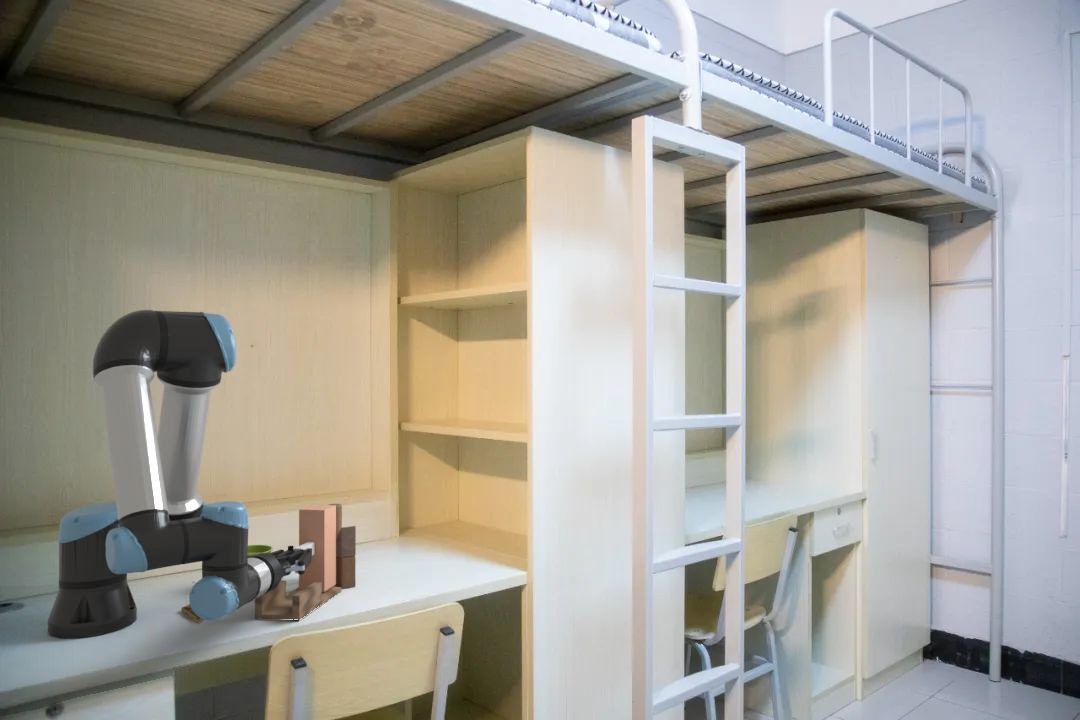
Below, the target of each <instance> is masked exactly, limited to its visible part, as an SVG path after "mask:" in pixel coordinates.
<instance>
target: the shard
mask: <svg viewBox="0 0 1080 720" xmlns="http://www.w3.org/2000/svg"><path fill="white" fill-rule="evenodd" d="M181 611H182V613H184V614H187V615H188V616H189V617H190V618H191V619H192V620H193V621H195V622H197V623H200V624H201V623H202V622H203V621H205V620H204V619H202V618H200V617H198V616H197V615H196V614H195V613H194V612H193V610H192V608H191V606H190V603H189V604H187V605H185V606H182V607H181Z"/></svg>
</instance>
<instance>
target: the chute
mask: <svg viewBox="0 0 1080 720" xmlns="http://www.w3.org/2000/svg"><path fill="white" fill-rule="evenodd" d="M341 592H342V589H341V587H337V586H333V587H331V588H330V589H328V590H327V591H325V592H322V582H314V583H312V584H311V585H309V586H307V587H306V588H304V589H303V590H301V591H299V586H298V587H297V588H295V589H294V590H292V591H290V592H289V593H287V580H286V579H285V580H284V579H283V580H282V579H281V581H280V583H279V584H278V585H277V587H275V588H274V589H273V590H271V591H269V592H267V593H266V594H264V595H261V596H260V597H258V598H256V599H254V619H255V620H269V619H293V620H294V619H298V620H300V619H301V618H303V617H304V616H306V615H307V614H309V613H310V612H311V611H313V610H314V609H315V608H317V607H318V606H320V605H322V604H323V603H325V602H326V601H327V602H329V601H330V600H331V598H332V597H333V598H335V597H334V596H335V595H336V596H338V595H339V594H340V593H341ZM338 593H339V594H338ZM333 598H332V599H333ZM329 599H330V600H329ZM328 600H329V601H328ZM327 602H326V603H327ZM326 603H325V604H326ZM323 605H324V604H323ZM323 605H322V606H323ZM320 607H321V606H320ZM317 609H318V608H317ZM313 612H314V611H313ZM310 614H311V613H310ZM310 614H309V615H310ZM307 616H308V615H307ZM307 616H306V617H307ZM303 619H304V618H303ZM300 621H301V620H300Z"/></svg>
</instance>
